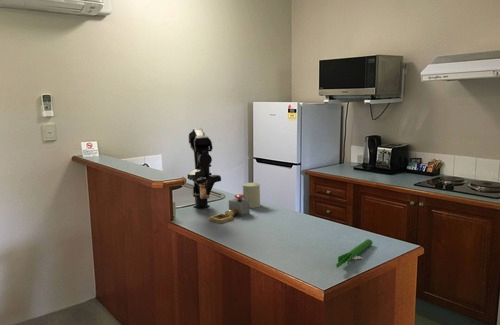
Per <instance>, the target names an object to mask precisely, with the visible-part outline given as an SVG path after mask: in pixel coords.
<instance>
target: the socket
mask: <svg viewBox="0 0 500 325" xmlns="http://www.w3.org/2000/svg"><path fill="white" fill-rule="evenodd" d="M232 220H234V216H231V215H227V214H225V213H218V214H215V215H212V216H211V215H210V216H208V221H210V222H215V223H218V224H223V223H226V222H230V221H232Z"/></svg>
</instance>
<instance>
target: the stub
mask: <svg viewBox="0 0 500 325" xmlns="http://www.w3.org/2000/svg"><path fill="white" fill-rule="evenodd" d="M199 186H200V198H201V199H207V200H208V199H210V197H211V196H210V195H207V192H206V185H205V184H204V183H199Z"/></svg>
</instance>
